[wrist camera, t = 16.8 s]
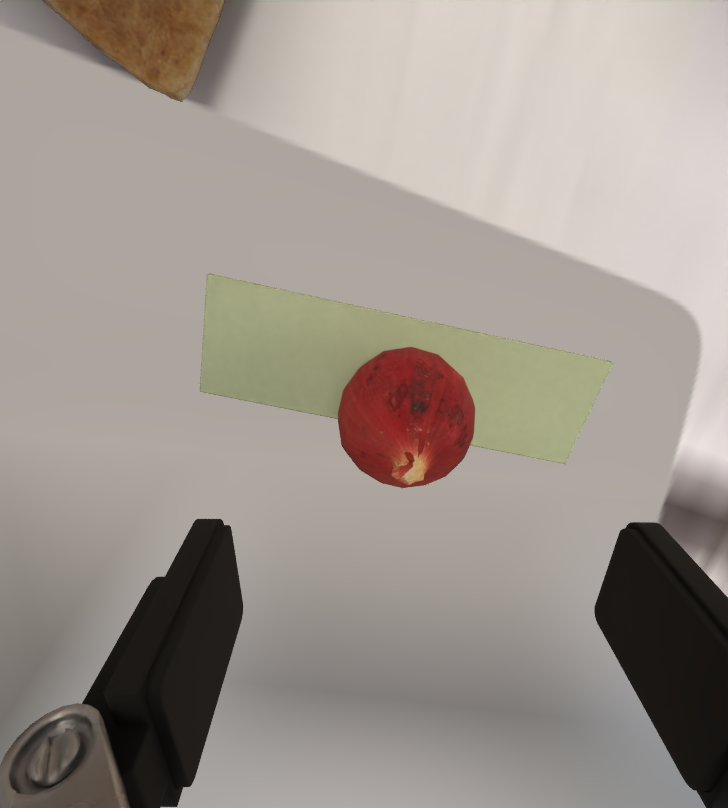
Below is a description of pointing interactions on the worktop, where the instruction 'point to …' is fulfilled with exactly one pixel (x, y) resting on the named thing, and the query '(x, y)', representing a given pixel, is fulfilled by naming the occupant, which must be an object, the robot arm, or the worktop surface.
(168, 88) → the stone cup
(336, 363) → the edge strip
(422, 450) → the pomegranate
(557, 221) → the worktop surface
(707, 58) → the worktop surface
